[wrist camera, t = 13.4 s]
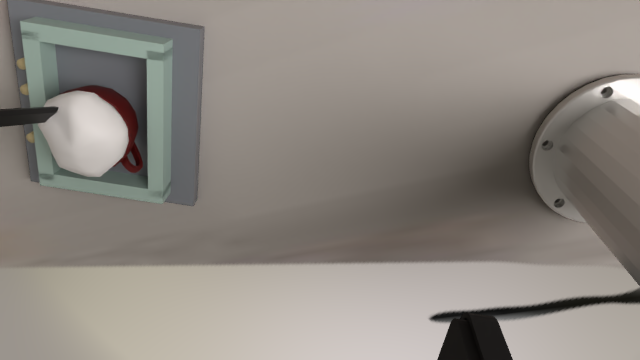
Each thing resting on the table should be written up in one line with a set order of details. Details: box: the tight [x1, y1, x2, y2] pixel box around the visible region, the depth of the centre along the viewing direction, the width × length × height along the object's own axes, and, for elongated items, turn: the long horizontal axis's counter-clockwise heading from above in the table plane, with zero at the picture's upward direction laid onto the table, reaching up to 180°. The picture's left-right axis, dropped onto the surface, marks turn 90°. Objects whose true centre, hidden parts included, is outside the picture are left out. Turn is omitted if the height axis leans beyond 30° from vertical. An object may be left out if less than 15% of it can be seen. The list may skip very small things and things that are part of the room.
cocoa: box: [0, 85, 143, 177], centre depth 34 cm, size 10×6×12 cm, turn 16°
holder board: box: [7, 0, 204, 206], centre depth 39 cm, size 14×15×3 cm
